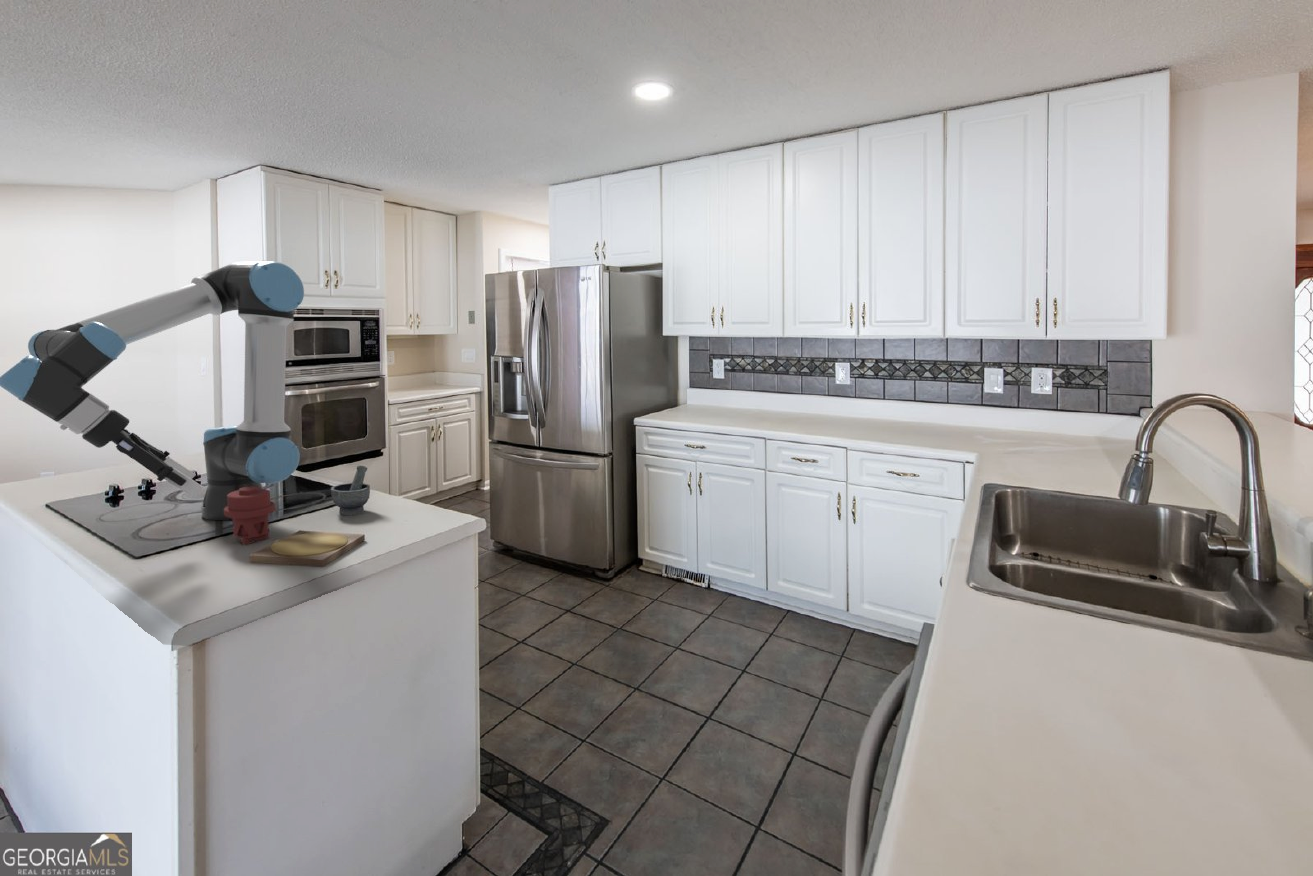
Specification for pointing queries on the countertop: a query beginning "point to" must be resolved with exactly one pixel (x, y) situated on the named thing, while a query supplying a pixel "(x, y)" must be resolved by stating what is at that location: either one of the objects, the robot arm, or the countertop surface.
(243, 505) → the mechanical component
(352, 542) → the marked board
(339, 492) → the mortar and pestle
